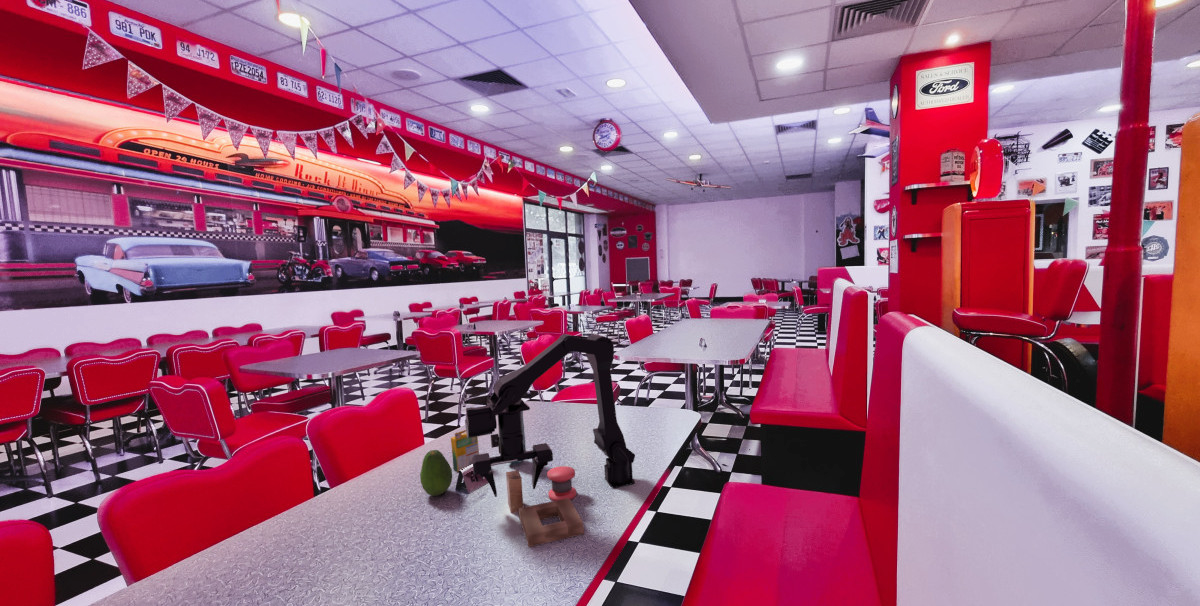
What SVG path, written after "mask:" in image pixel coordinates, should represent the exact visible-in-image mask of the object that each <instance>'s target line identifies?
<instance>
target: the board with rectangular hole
mask: <svg viewBox="0 0 1200 606" xmlns="http://www.w3.org/2000/svg"><path fill="white" fill-rule="evenodd" d="M518 513H519V520H520V521H519V522H520V525H521V527H522V530H523V532H524V533H523V534H524V537H525V539H526V543H527V547H528V548H530V547H535V546H538V545H539V546H540V545H544V544H546V543H547V544H548V543H551V542H552V543H553V542H555V541H560V540H564V539H565V540H566V539H568V538H573V537H577V536H580V535H582V536H583V535H584V534H585V529H584V527H585V525H584V521H583V519H582V518H581V517H580V515H579V513H578V510H576V507H575V506H574V504H573V502H572V500H570V499H569V498H566V499H561V500H557V501H552V500H551V501H548V502H543V503H538V504H533V505H529V506H523V508H519V512H518ZM555 517H558V520H559V521H557V522H553V523H549V524H544V525H543V524H542V522H541V521H543V520H547V519H550V518H552V519H553V518H555Z"/></svg>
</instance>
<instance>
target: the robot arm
mask: <svg viewBox="0 0 1200 606" xmlns="http://www.w3.org/2000/svg"><path fill="white" fill-rule="evenodd" d="M571 352H577V353H581V354H582V353H583V354H585V355H586V359H587V361H588V363H589V365H590V367H591V369H592V375H593V382H594V389H595V397H596V398H595V399H596V405H597V412H598V420H599V423H598V426H597V428H593V429H592V432H593V435H594V440H593V443H594V444H595V446H597V448H598V450H600V451H601V452H602V453H603V454H604V455H605V456H606V458H605V464H604V468H603V469H604V480H605V481H606V482H607V483H608V484H609V486H610V487H611V488H613V489H614V488H619V487H625V486H629V485H634V484H636V480H635V479H634V478H633V463H634V462H635V458H636V453H634V452H632V450H630V449H629V448H628V447H627V445H626V441H625V438H624V434H623V432H622V429H621V427H620V425H619V423H618V419H617V412H616V410H617V409H616V403H615V402H616V401H615V394H614V386H613V381H612V380H613V379H612V371H611V370H612V365H613V363H614V353H615V346H614V342H613V340H611V338H609V337H606V336H604V335H601V334H598V333H593V334H590V335H588V336H583V335H571V334H567V333H563V334H562V335H560V336H559V337H558V339H557V340H555V341H554V342H553V343H552V344H550V345H549V346H547V347H546V348H545V349H544V350H542V351H541V352H540V353H539V354H537V355H536V356H535V357H534V358H533V359H532V360H530V361H529V362H528V363H526V364H525V365H524V366H522V367H520V368H519V369H516V370H513V371H511V372H509V373H507V374H505V375H503V376H502V377H500V378H498V379H497V381H495V383H494V388H493V390H494V391H493V393H492V394H491V396H490V397H489V399H488V401H486V405H482V406H476V407H474V406H473V407H466V408H465V420H464V425H465V426H464V427H465V430H466V432H465V433H466V434H467V438H472V437H482V436H487V435H488V436H489V435H490V445H491V448H497V449H498V453H499V454H500V455H497V456H492V457H490V453H489V452H485V453H479V455H474V456H473V458H472V464H473V467H472V471H473V475H475V476H479V477H480V478H484V479H485V480H486V482H487V484H489V486H490V488H491V490H492V492H493V495H494V497H495V498H496V497H498V491H497V487H496V482H495V477H494V473H493V469H492V467H493V466H494V467H495V466H500V465H504V464H511V463H510V462H516V461H521V462H523V461H527V460H531V461H532V462H531V463H532V468H531V469H532V470H531V471H532V473H531V474H532V475H531V476H532V477H531V485H532V490H535V489H536V488H537V484H538V481H539V479H540V475H541V474H542V471H543V469H544V468H545V466H548V465H549V463H550V462H553V461H554V453H553V450H552V448H551V447H550V445H549V444H548V443H546V442H544V443H539V444H538V443H537V444H533V445H532V450H526V451H525V452H524V440H523V425H522V411H523V412H525V411H530V409H531V407H530V406H529V405H528V404H527V403H526V402H525V401H524V400H523V399H522V398H523V397H524V396H525V395H526V394H527V393H528V391H529V390H530V388H531V387H532V385H533V384H534V382H535V381H536V380H538V379H539V378H540V377H542V376H543V375H544V374H545V373H547V372H548V371H549V370H550V369H551V368H553V367H554V366H555V365H556V364H557V363H559V362H560V361H561V360H563V359H564V358H565V357H566V356H567V355H569V354H570V353H571ZM497 426H498V427H497ZM497 428H498V433H495V434H493V433H494V432H496V429H497ZM522 460H523V461H522Z"/></svg>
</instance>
